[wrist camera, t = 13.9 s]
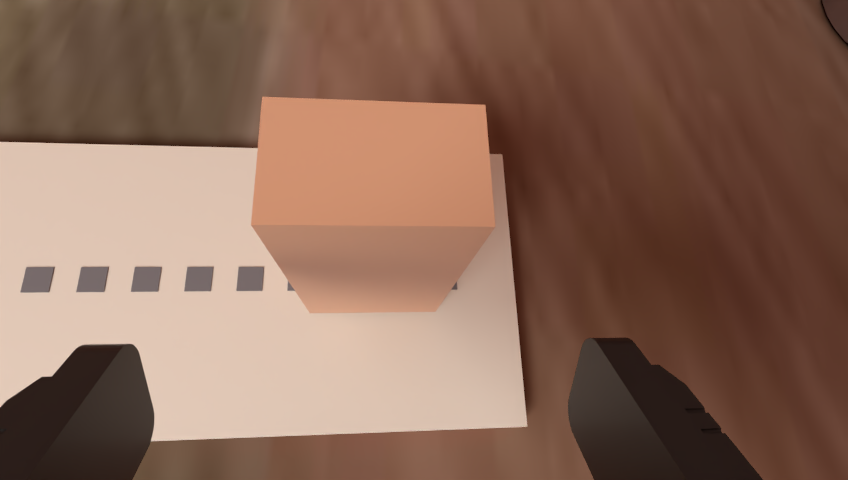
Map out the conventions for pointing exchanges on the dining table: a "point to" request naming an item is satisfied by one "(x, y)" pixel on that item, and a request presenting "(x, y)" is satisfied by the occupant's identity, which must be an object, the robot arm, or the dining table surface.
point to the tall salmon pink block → (372, 199)
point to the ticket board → (233, 303)
